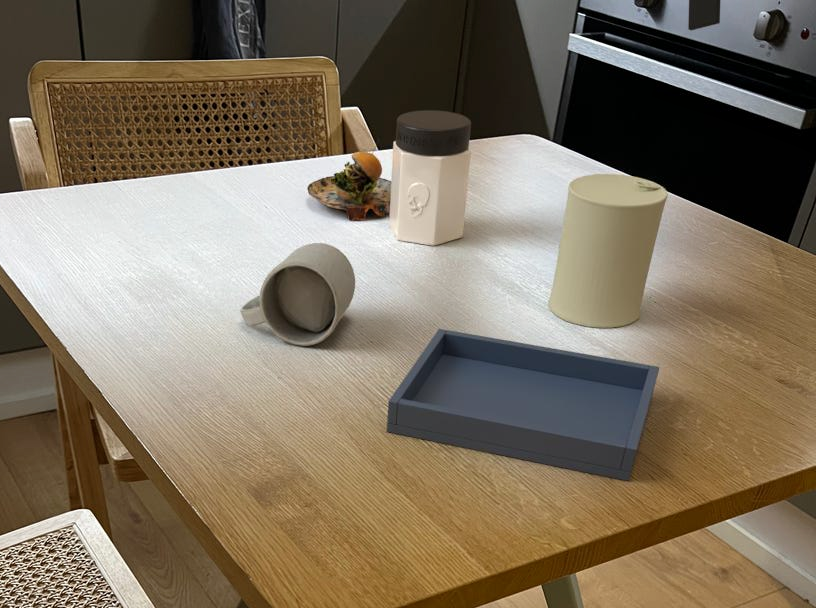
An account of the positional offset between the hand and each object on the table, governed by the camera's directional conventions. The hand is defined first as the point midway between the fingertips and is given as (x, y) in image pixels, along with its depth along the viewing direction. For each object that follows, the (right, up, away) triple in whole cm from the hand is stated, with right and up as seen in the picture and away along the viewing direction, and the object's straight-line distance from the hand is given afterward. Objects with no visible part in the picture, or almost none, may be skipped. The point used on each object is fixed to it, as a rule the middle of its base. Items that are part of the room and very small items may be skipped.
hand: (679, 13), depth 87 cm
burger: (-29, -3, +33) cm, 44 cm away
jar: (-21, -9, +26) cm, 34 cm away
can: (-5, -23, +11) cm, 26 cm away
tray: (-15, -37, -6) cm, 41 cm away
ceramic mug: (-35, -27, +6) cm, 44 cm away
